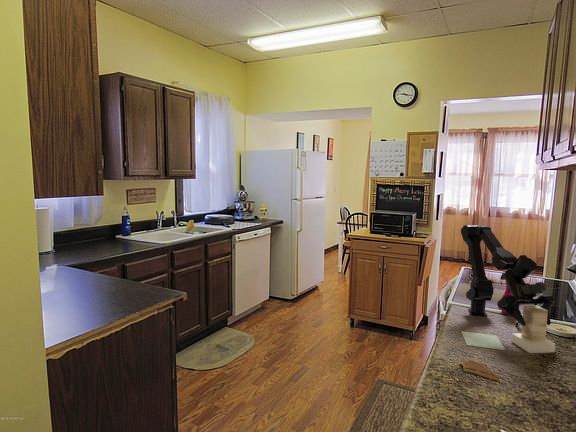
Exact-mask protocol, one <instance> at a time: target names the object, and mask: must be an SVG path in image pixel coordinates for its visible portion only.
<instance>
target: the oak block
mask: <svg viewBox="0 0 576 432" xmlns="http://www.w3.org/2000/svg"><path fill="white" fill-rule="evenodd" d="M522 309H523V310H522V316H523V318H524V321H525V324H526V325H525V326H523V325H522V324H521V325H522V326H521V333H522V334H521V336H523V337H524V338H526V339H528V340H529V341H531V342H543V341H545V339H547V338H546V337H547V326H548V325H547V316H548V310H546V309H543V308H541V307H539V306H535V305H523V308H522Z"/></svg>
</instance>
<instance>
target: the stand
mask: <svg viewBox="0 0 576 432" xmlns="http://www.w3.org/2000/svg"><path fill="white" fill-rule="evenodd" d="M521 334H522V332H519V333H517V332H515V333H512V334H511V343H514V344H515V345H517V346H518V347H520V348H521V349H523V350H524V351H526V352H528V354H544V353H555V352H556V343H554V342H553V341H551V340H550V339H547V338H546V339H545V341H543V342H531V341H529V340H528V339H526V338H524V337H523V336H521Z"/></svg>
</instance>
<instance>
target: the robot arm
mask: <svg viewBox="0 0 576 432" xmlns="http://www.w3.org/2000/svg"><path fill="white" fill-rule="evenodd" d="M460 234H461V237H462V239H463V241H464V242H465V244H466V245H467V247H468V253H469V260H470V267H471V271H472V272H471V273H472V279H471V282H470V284H469V287H470V288H469V289H468V290H467V291H466V293H465V299H467V300H469V301H470V308H468V309H467V310H468V312H469V314H470V315H473V316H483V317H488V314H487V312H486V305H487V301H489V302H491V301H492V298H493V295H494V285H493V281H492V279H489V278H488V277H487V276H486V271H485V270H486V269H485V264H484V258H483V252H482V246H481V242H483V243H484V245H485V246H486V248H487V249H488V251H489V253H491V256H492V257H491V261H492V263H493V265H494V267H495V269H496V270H498V271H505V272H501V276H500V280H501V281H506V283H507V285H508V287H509V289H510V290H508V292H509V293H512V295H513V296H504V297H503V298H502V297H501V298H500V299H499V300H498V301H497V304H496V305H497V308H498V309H499V310H501V311H502V310H503V311H504V312H507V313H508V315H509V316H511V317H512V318H513V319H514V320H516V321H517V322H518V323H519V324H521V325H523V326H525V325H526V324H525V321H524V318H523V313H522V312H521V310H520V306H539V307H541V308H543V309H546V310H548V316H547V326H550V325H551V316H550V315H551V314H550V313H551V312H550V309H551V306H553V305H554V304H555V303H556V300H555V297H554V296H553V295H550V294H545V295H544V292H546V291H547V287H546V285H545V283H544V281H538V282H535V283H533V284H532V283H531V284H530V283H527V282H526V281H525V279H527V278H528V277H529V276H530V275H532V273H534V272H535V271H536V270H537V269H538V265H537V263H536V261H534V260H533V259H531V258H529V257H528V256H527V255H526V254H521V255H519V256H518V258H517V257H516V255H514V254H513V253H512V252H511V251H509V250H507V249H506V248H505V247H504V246H503V245H502V243H501V242H500V241H499V239H498V238H497V237H496V235H495V234H494V232H493V231H492V228H491V227H490V226H489V225H479V224H464V225H463V226H462V227H461V228H460ZM539 294H541V295H539ZM537 295H539V296H537ZM536 297H537V298H536ZM519 305H520V306H519ZM504 312H503V313H504ZM507 313H506V314H507Z"/></svg>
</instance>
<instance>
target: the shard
mask: <svg viewBox="0 0 576 432" xmlns="http://www.w3.org/2000/svg"><path fill="white" fill-rule="evenodd" d="M458 362H459V363H460V365H462V367H463V371H464V372H466V373H472V374H475V375H477V376H481V377H484V378H487V379H490V380H495V381H498V382H499V381H500V380H501V379H502V377H500V376H498V375H497V374H496V373H494V371H493V370H492V369H490V368H489V367H488V366H487V365H485V364H484V363H482V362H481V361H479V360H474V359H463V360H462V359H460V360H459V361H458Z"/></svg>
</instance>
